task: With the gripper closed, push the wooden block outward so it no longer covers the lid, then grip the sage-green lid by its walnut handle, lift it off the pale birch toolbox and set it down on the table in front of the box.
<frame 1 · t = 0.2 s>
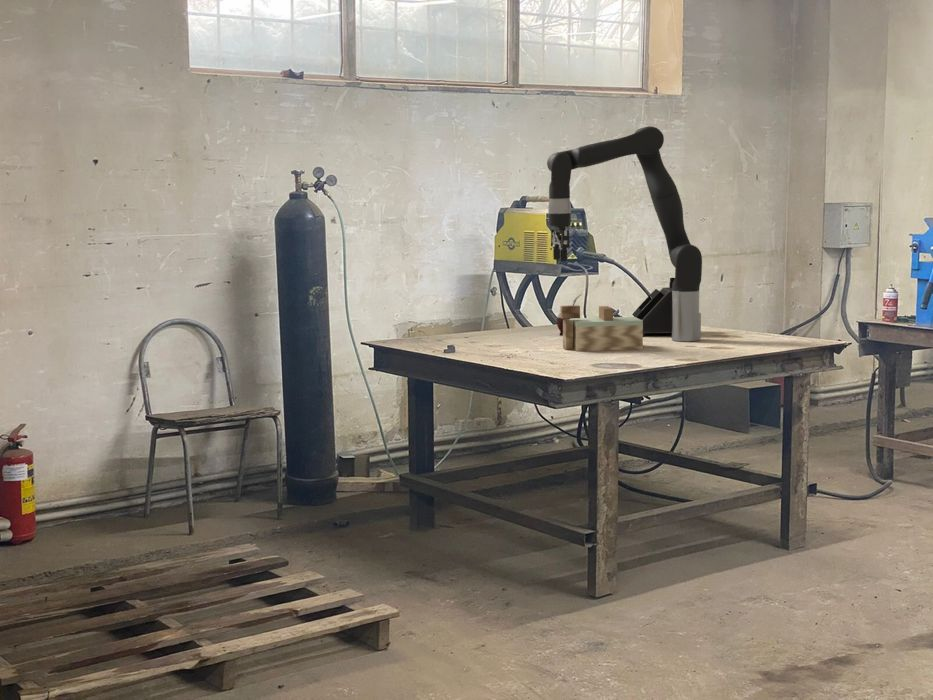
hand: (560, 260, 384), 29 cm above the table, fingers open, 8 cm apart
wooden block: (570, 312, 375), point 12 cm above the table, slide at 0.0 cm
mate gourd: (567, 335, 414), on the table
toolbox: (605, 347, 377), on the table
voltmeter: (656, 334, 413), on the table
lid: (605, 323, 376), point 8 cm above the table, touching toolbox
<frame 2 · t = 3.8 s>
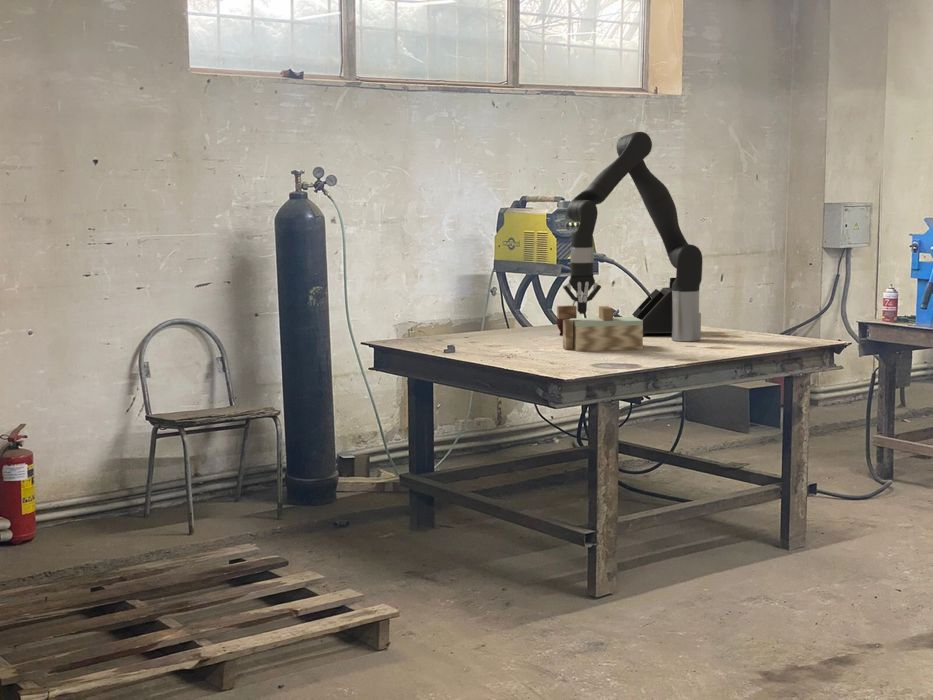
hand: (581, 313, 375), 12 cm above the table, fingers closed
wooden block: (566, 312, 374), point 12 cm above the table, slide at 1.2 cm, touching gripper
everything else where it was.
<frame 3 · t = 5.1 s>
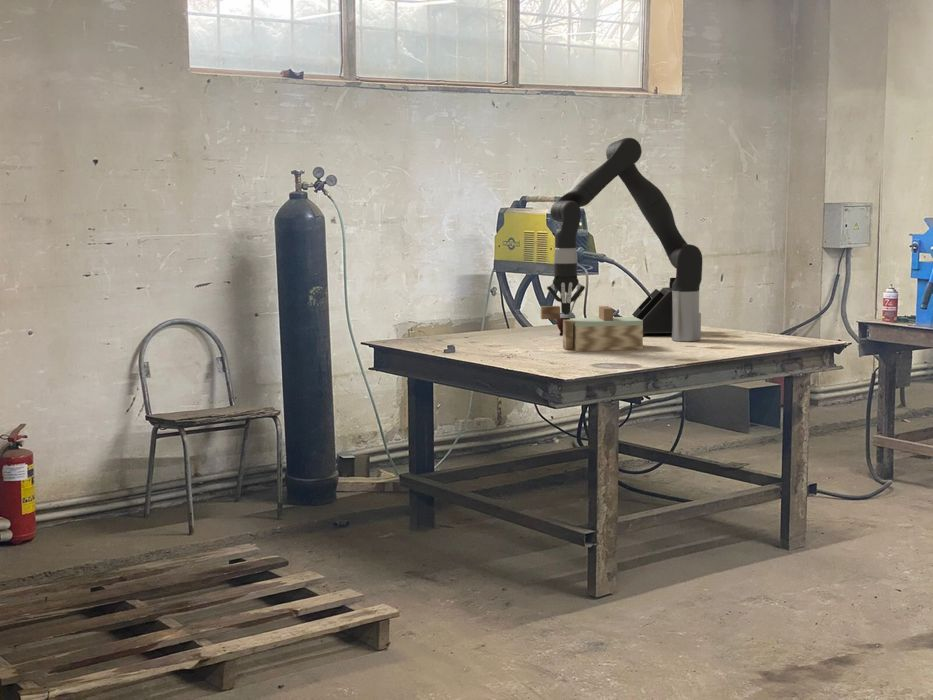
hand: (565, 314, 374), 12 cm above the table, fingers closed
wooden block: (550, 312, 374), point 12 cm above the table, slide at 6.6 cm, touching gripper
everything else where it was.
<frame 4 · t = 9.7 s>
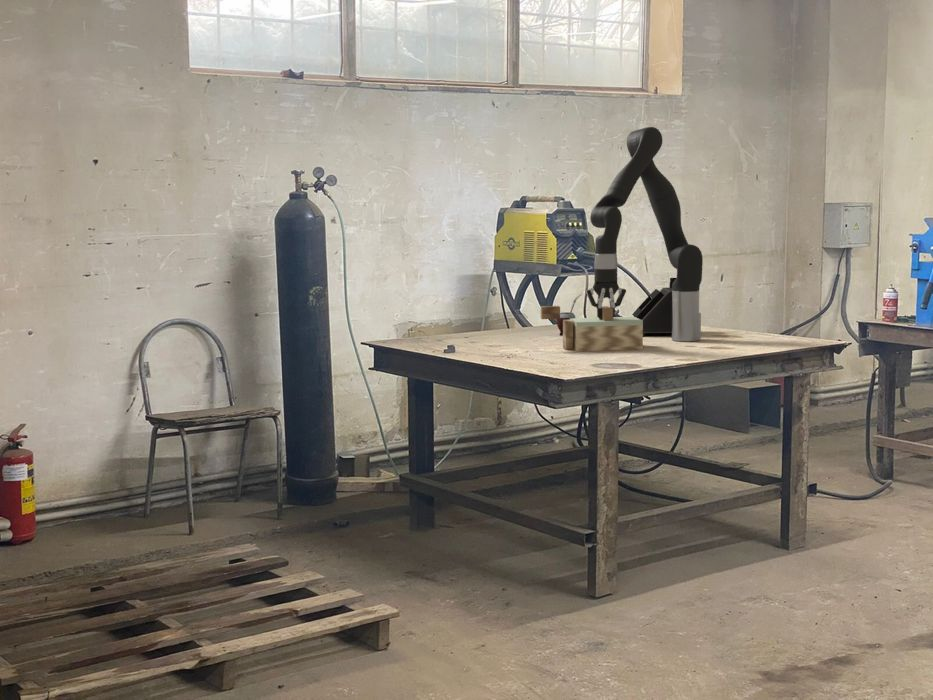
hand: (605, 319, 376), 10 cm above the table, fingers closed on lid, 3 cm apart
wooden block: (550, 312, 374), point 12 cm above the table, slide at 6.6 cm
lid: (605, 323, 376), point 8 cm above the table, touching gripper, toolbox
everything else where it was.
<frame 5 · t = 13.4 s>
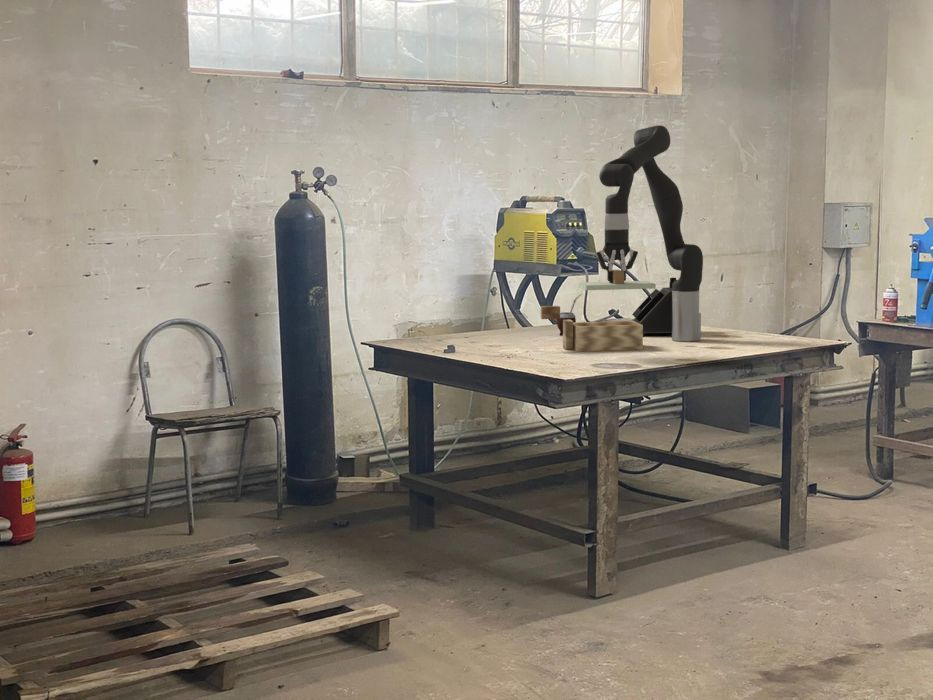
hand: (616, 282, 359), 23 cm above the table, fingers closed on lid, 3 cm apart
lid: (616, 287, 359), point 21 cm above the table, touching gripper
everything else where it was.
when the fingers open (4 cm above the table, at t = 17.1 s): lid drops 3 cm, on the table.
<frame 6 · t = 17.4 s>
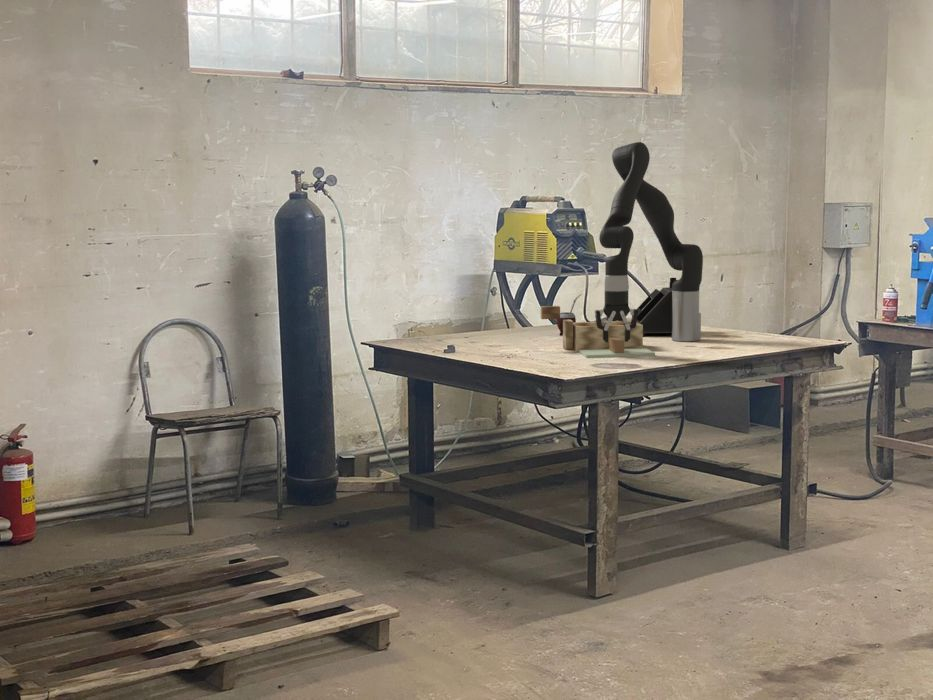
hand: (616, 341, 361), 4 cm above the table, fingers open, 6 cm apart
lid: (616, 356, 362), on the table
everything else where it was.
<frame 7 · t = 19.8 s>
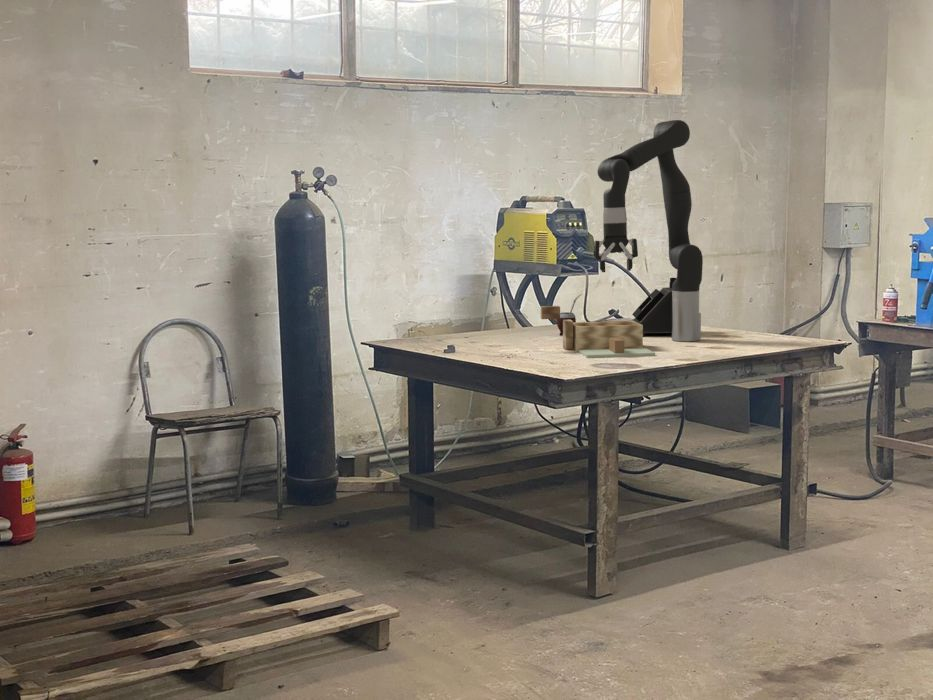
hand: (616, 271, 370), 26 cm above the table, fingers open, 8 cm apart
nothing on the table moved.
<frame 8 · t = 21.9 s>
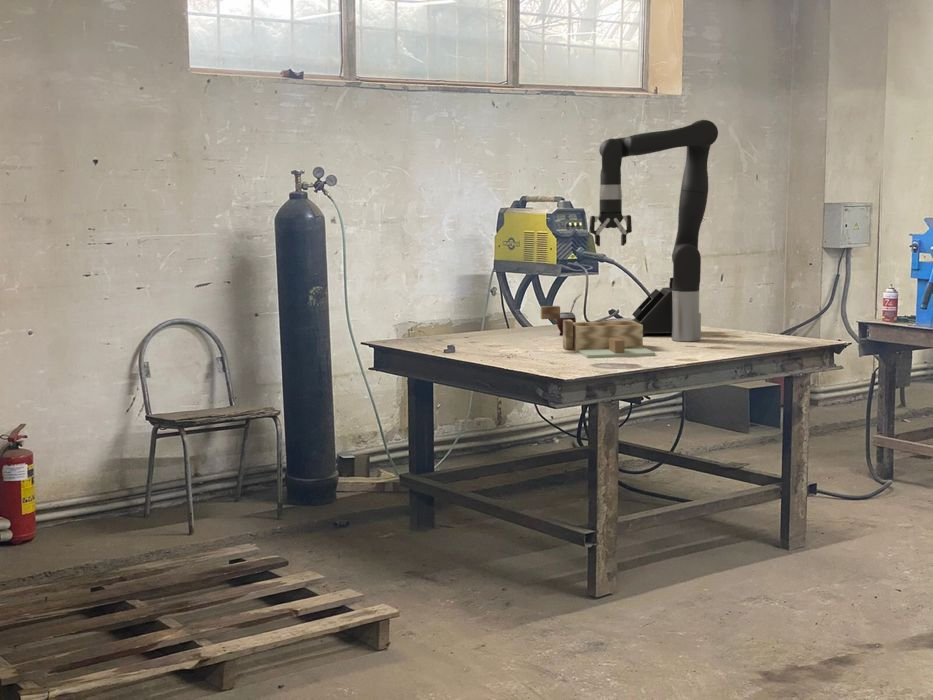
hand: (610, 245, 389), 33 cm above the table, fingers open, 8 cm apart
nothing on the table moved.
at the end: wooden block slide at 6.6 cm; lid inside the target area (0.1 cm from its centre), on the table; the gripper is holding nothing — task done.
